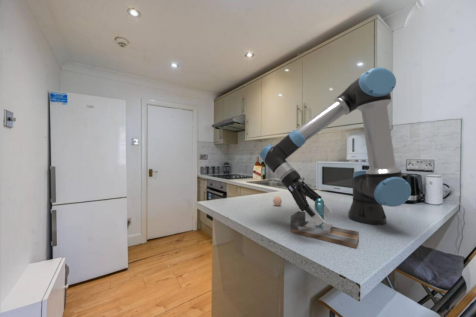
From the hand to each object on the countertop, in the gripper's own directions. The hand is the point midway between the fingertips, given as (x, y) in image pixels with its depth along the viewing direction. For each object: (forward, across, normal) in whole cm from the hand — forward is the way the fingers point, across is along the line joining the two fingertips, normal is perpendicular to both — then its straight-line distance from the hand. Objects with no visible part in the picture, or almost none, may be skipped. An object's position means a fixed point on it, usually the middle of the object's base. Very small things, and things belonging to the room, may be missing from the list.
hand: (325, 218), depth 72 cm
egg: (-19, -31, -29) cm, 46 cm away
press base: (+4, 0, -5) cm, 7 cm away
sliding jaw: (+2, 0, -5) cm, 5 cm away
